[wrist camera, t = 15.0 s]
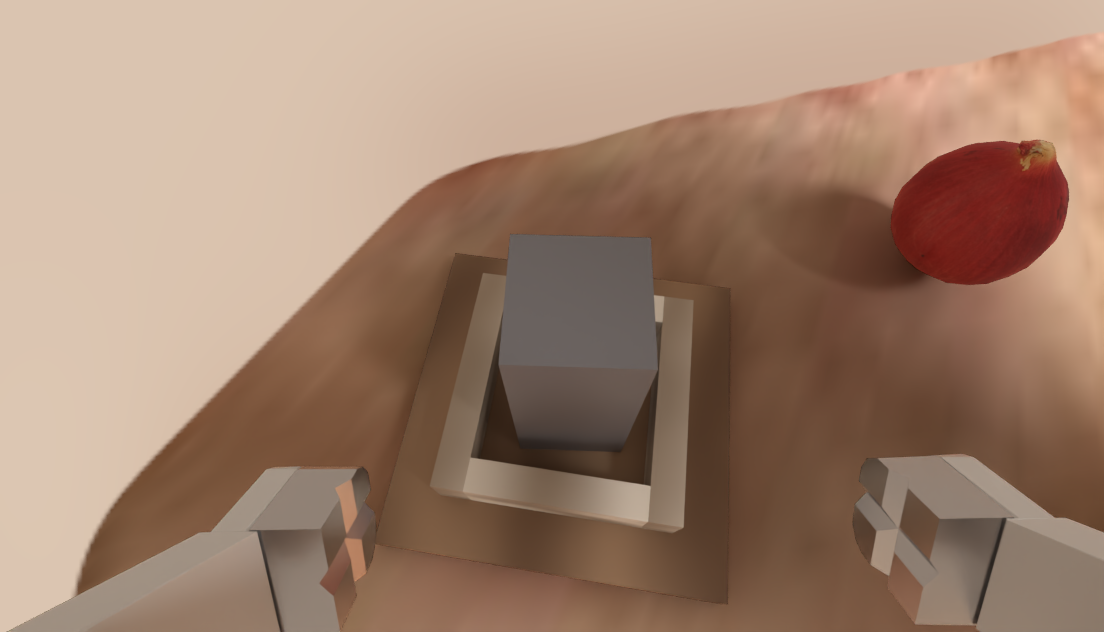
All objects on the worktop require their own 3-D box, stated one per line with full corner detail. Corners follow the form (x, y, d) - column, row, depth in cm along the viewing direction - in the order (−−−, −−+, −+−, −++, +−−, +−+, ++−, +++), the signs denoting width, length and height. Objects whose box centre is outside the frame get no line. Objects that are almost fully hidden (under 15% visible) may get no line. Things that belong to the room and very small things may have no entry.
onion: (932, 202, 28) (1057, 71, 21) (1010, 292, 26) (1182, 178, 19) (836, 234, 27) (934, 109, 20) (908, 331, 25) (1047, 227, 18)
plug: (619, 359, 23) (651, 237, 15) (620, 452, 22) (658, 370, 14) (526, 356, 23) (509, 234, 15) (520, 448, 22) (498, 364, 14)
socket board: (724, 299, 26) (743, 264, 23) (720, 603, 20) (745, 605, 17) (459, 264, 27) (448, 228, 24) (381, 544, 21) (355, 538, 18)
